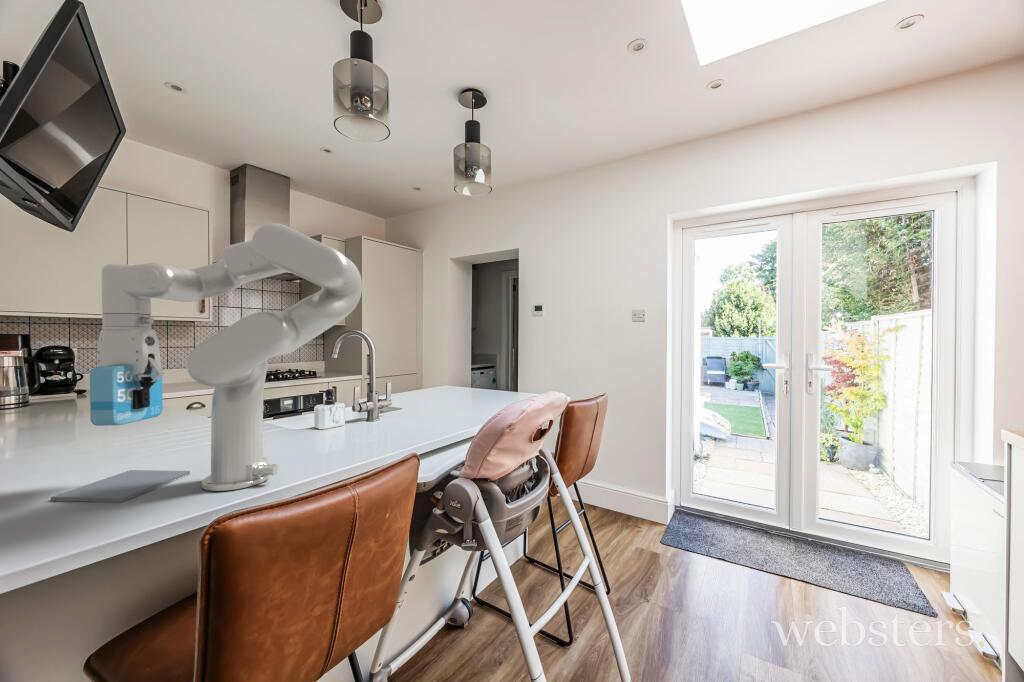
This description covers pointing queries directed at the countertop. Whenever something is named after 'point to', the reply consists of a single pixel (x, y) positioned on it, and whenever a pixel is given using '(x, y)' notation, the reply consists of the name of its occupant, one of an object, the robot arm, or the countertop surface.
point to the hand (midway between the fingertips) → (128, 407)
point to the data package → (119, 397)
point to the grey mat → (121, 486)
